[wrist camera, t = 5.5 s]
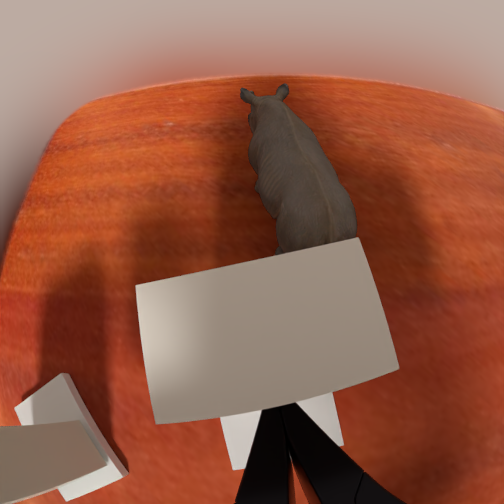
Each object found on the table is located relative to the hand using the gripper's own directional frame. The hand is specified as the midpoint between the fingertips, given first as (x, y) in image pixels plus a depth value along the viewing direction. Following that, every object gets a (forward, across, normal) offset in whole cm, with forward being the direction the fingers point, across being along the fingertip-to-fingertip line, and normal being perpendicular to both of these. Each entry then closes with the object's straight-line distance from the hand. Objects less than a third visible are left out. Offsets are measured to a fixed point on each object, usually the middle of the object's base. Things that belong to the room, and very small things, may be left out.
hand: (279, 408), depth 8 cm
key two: (+2, +13, +6) cm, 14 cm away
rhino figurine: (+13, -3, -3) cm, 14 cm away
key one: (+6, 0, +3) cm, 7 cm away
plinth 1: (+4, +13, +6) cm, 15 cm away
